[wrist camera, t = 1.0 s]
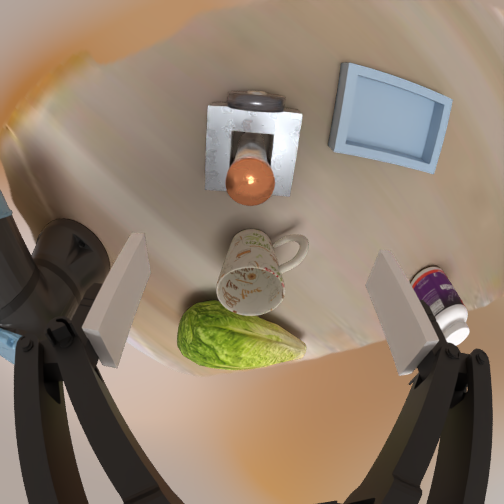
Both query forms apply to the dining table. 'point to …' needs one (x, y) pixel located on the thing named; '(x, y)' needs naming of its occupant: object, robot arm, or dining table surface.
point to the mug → (255, 273)
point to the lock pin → (250, 172)
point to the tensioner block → (258, 121)
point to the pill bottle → (442, 303)
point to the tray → (388, 119)
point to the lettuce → (234, 339)
